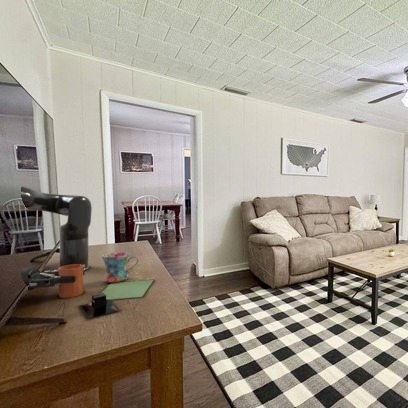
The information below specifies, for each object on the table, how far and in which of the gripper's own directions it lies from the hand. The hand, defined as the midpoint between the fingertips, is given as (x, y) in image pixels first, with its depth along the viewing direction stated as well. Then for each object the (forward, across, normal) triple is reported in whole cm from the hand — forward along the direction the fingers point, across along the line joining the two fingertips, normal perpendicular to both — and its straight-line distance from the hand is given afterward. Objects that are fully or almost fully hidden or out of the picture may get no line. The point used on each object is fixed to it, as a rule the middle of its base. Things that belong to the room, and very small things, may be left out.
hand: (79, 275), depth 100 cm
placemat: (+14, 0, +6) cm, 15 cm away
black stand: (+11, -16, +7) cm, 20 cm away
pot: (-2, 0, +6) cm, 7 cm away
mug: (+9, +12, +6) cm, 16 cm away
